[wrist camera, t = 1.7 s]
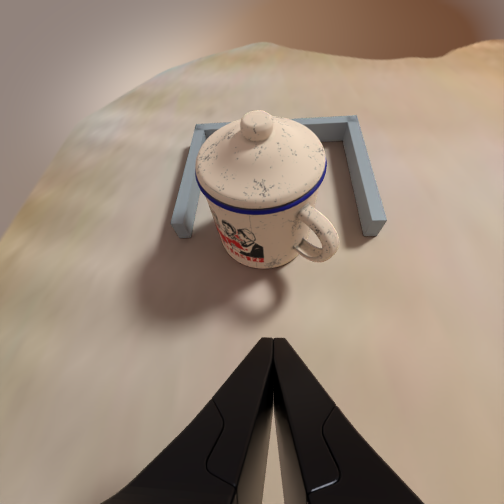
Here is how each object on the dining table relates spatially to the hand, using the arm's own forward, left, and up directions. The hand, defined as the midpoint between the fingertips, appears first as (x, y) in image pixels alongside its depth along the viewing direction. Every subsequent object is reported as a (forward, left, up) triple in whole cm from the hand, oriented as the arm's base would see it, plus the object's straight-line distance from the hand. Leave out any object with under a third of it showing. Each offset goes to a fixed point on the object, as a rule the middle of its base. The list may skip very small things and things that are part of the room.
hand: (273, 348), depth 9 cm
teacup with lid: (+10, +5, -11) cm, 16 cm away
